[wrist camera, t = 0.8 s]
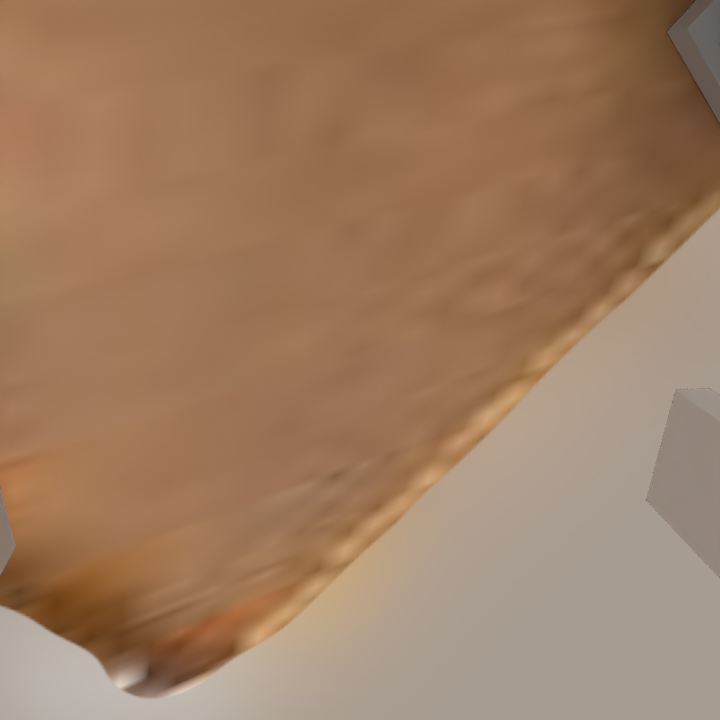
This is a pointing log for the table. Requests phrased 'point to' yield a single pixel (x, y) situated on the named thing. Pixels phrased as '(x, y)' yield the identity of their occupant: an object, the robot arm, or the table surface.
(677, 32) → the pedestal
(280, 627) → the table surface
